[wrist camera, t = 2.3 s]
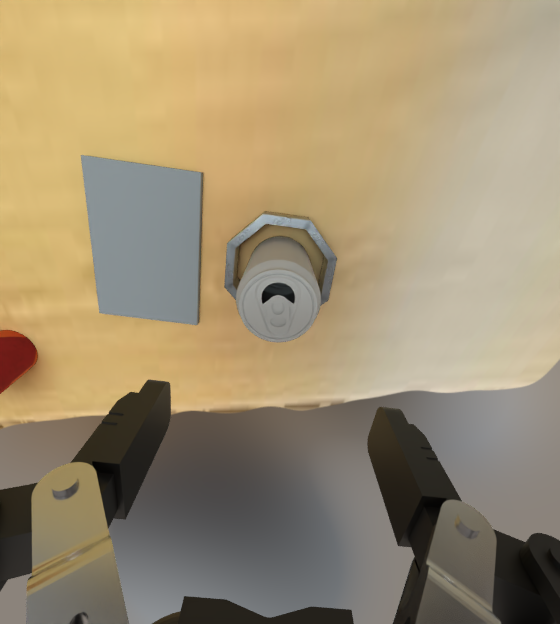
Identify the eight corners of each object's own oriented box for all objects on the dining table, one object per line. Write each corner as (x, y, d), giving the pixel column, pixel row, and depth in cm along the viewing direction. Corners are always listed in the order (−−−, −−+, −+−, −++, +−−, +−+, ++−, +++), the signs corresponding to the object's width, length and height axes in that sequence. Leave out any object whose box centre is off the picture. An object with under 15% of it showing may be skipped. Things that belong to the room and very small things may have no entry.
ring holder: (338, 221, 30) (344, 225, 28) (319, 315, 34) (322, 327, 32) (234, 206, 30) (229, 209, 27) (227, 304, 34) (222, 315, 31)
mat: (203, 172, 29) (200, 172, 28) (198, 322, 35) (197, 325, 34) (86, 155, 28) (80, 155, 27) (103, 310, 34) (99, 313, 34)
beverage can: (310, 234, 31) (325, 263, 20) (308, 293, 33) (321, 347, 22) (248, 235, 31) (229, 264, 20) (251, 293, 34) (236, 347, 22)
